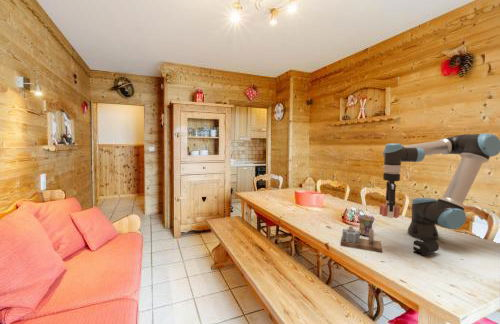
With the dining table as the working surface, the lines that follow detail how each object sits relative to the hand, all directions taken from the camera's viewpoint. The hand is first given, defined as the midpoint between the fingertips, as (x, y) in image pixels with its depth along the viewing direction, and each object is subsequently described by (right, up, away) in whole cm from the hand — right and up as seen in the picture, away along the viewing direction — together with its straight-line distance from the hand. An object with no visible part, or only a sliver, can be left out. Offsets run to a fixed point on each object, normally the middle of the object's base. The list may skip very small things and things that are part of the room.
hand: (389, 214), depth 124 cm
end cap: (+15, -19, -5) cm, 25 cm away
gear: (-18, -16, +7) cm, 24 cm away
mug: (-3, -17, +22) cm, 28 cm away
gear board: (-13, -18, +5) cm, 23 cm away
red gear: (0, 0, 0) cm, 0 cm away
